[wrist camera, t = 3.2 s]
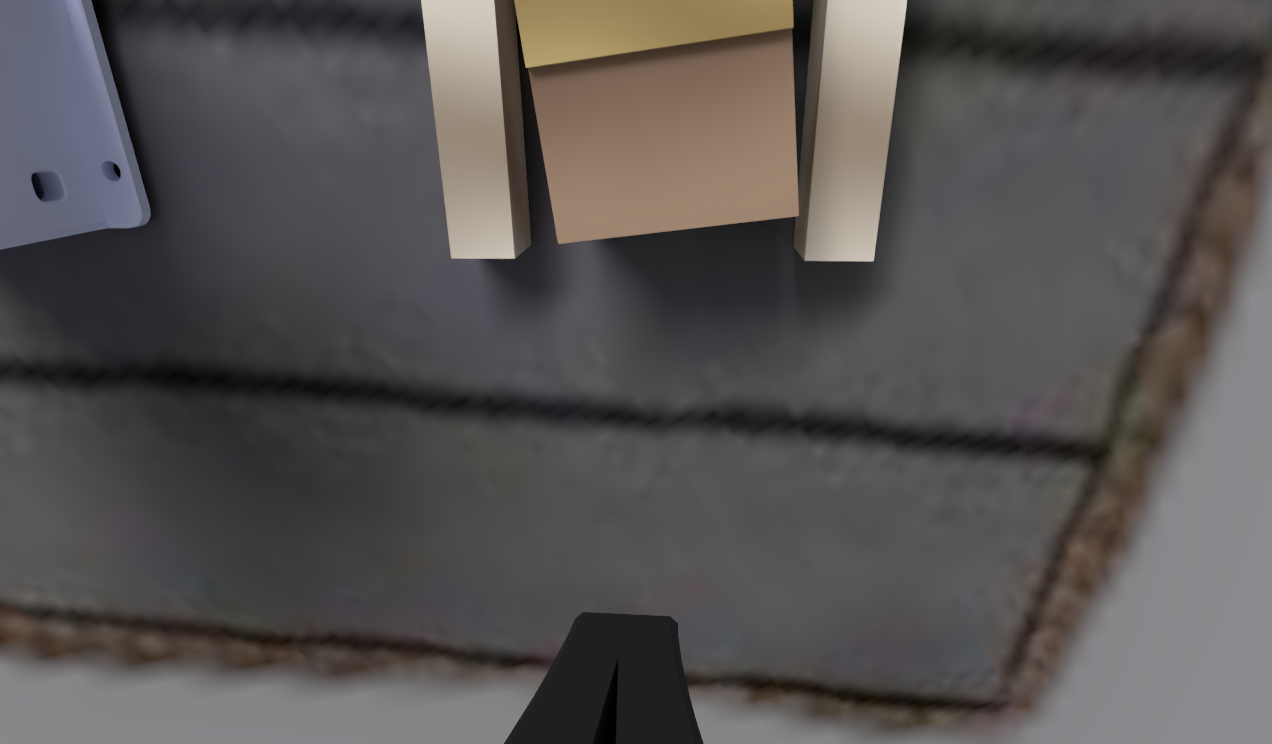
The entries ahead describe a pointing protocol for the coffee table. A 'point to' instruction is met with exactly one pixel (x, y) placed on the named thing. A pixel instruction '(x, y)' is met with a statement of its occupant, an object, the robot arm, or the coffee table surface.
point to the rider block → (662, 112)
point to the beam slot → (831, 142)
